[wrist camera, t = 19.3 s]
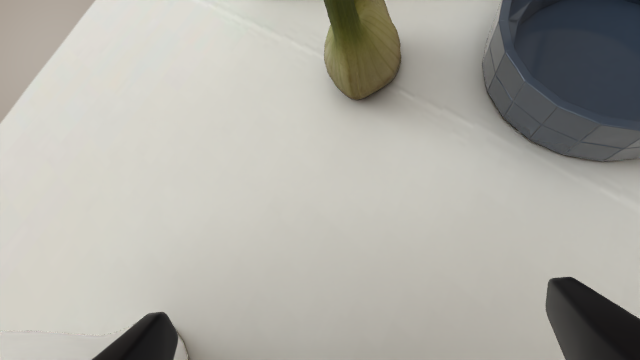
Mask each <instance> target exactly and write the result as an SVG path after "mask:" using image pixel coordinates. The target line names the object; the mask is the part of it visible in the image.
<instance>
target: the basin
mask: <svg viewBox="0 0 640 360" xmlns="http://www.w3.org/2000/svg"><path fill="white" fill-rule="evenodd" d="M482 67H483V73H484V78H485V83H486V88H487V92H488V94H489V95H490V97H491V98H492V100H493V102H494V103H495V105H496V107H497V108H498V110H499V112H500V113H501V115H502V116H503V117H504V119H506V120H507V121H508V122H509V123H510V124H511V125H513V126H514V127H515V128H516V129H517V130H519V131H520V132H521V133H522V134H523V135H524V136H526V137H527V138H528V139H529V140H531V141H533V142H535V143H537V144H540V145H542V146H544V147H546V148H549V149H551V150H553V151H555V152H557V153H560V154H562V155H563V154H564V155H567V156H573V157H579V158H585V159H591V160H597V161H614V160H625V159H636V158H640V0H501V2H500V5H499V7H498V10H497V13H496V16H495V19H494V21H493V24H492V27H491V30H490V33H489V35H488V38H487V42H486V47H485V52H484V57H483V62H482Z"/></svg>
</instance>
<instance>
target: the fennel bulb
mask: <svg viewBox="0 0 640 360" xmlns="http://www.w3.org/2000/svg"><path fill="white" fill-rule="evenodd" d="M324 3H325V6H326V9H327V12H328V17H329V19H330V23H331V25H330V28H329V31H328V34H327V38H326V41H325V50H324V61H325V64H326V68H327V72H328V74H329V76H330V77H331V79H332V80H333V82H334V83H335V85H336V86H337V87H338V88H339V89H340V90H341V91H342V92H343V93H344V94H345V95H346V96H348V97H349V98H351V99H354V100H359V99H362V98H365V97H367V96H369V95H371V94H372V93H374V92H376V91H378V90H380V89H381V88H382V87H384V86H386V85H387V84H388V83H390V82H391V81H392V80H393V78H394V77H395V76H396V74H397V72H398V69H399V67H400V64H401V52H400V40H399V36H398V33H397V30H396V28H395V26H394V24H393V23H392V21H391V18H390V16H389V13H388V10H387V7H386V4H385V1H384V0H324Z"/></svg>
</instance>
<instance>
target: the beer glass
mask: <svg viewBox="0 0 640 360" xmlns="http://www.w3.org/2000/svg"><path fill="white" fill-rule="evenodd" d="M133 325H135V324H133ZM133 325H131V326H129V327H126V328H124V329H122V330H120V331H117V332H114V333H110V334H103V335H85V334H72V333H59V332H44V331H0V360H92V359H93V358H94V357H95V356H97V355H98V354H99V353H100V352H101V351H103V350H104V349H105V348H106V347H108V346H109V345H110V344H111V343H112V342H114V341H115V340H116V339H117V338H119V337H120V336H121V335H122V334H123V333H125V332H126V331H127V330H128V329H130V328H131V327H132V326H133ZM174 360H188V354H187V351H186V348H185V345H184V343H183V341H182V339H181V338H180V336H179V335H178V345H177V348H176V352H175V356H174Z"/></svg>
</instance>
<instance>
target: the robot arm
mask: <svg viewBox="0 0 640 360" xmlns="http://www.w3.org/2000/svg"><path fill="white" fill-rule="evenodd" d="M546 312H547V316H548V319H549V321H550V323H551V326H552V328H553V331H554V333H555V335H556V338H557V340H558V343H559V345H560V347H561V350H562V352H563V355H564V357H565V359H566V360H640V319H639V318H637V317H636V316H634V315H633V314H631V313H629V312H628V311H626V310H625V309H623V308H621V307H620V306H618V305H616V304H615V303H613V302H612V301H610V300H608V299H607V298H605V297H604V296H602V295H600V294H599V293H597V292H596V291H594V290H592V289H591V288H589V287H588V286H586V285H584V284H583V283H581V282H580V281H578V280H576V279H574V278H572V277H561V278H552V279H550V280H549V282H548V288H547V298H546ZM177 345H178V334H177V331H176V330H175V328H174V326H173V324H172V323H171V321H170V319H169V317H168V316H167V314H165V313H164V312H158V313H150V314H147V315H146V316H144V317H143V318H142V319H141V320H139V321H138V322H137V323H136V324H135V325H133V326H132V327H131V328H130V329H128V330H127V331H126V332H125V333H123V334H122V335H121V336H120V337H119V338H117V339H116V340H115V341H114V342H112V343H111V344H110V345H109V346H108V347H106V348H105V349H104V350H103V351H101V352H100V353H99V354H98V355H97V356H95V357H94V358H93V359H92V360H174V356H175V352H176V348H177Z"/></svg>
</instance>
